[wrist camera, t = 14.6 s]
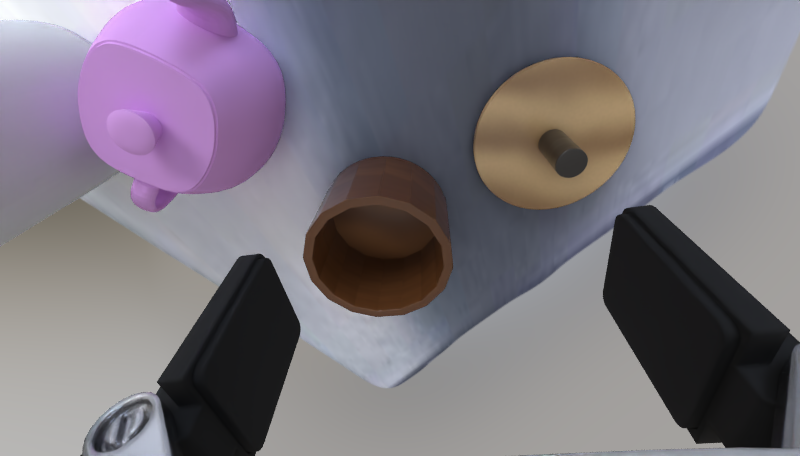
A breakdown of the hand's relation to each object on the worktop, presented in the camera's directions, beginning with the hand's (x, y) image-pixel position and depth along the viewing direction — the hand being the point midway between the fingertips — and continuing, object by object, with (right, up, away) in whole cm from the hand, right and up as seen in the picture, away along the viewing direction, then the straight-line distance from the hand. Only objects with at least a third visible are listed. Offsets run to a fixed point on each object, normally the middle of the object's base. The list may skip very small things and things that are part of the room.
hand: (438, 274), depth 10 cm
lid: (+12, +9, +22) cm, 27 cm away
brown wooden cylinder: (-3, +3, +28) cm, 28 cm away
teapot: (-17, +14, +22) cm, 31 cm away
